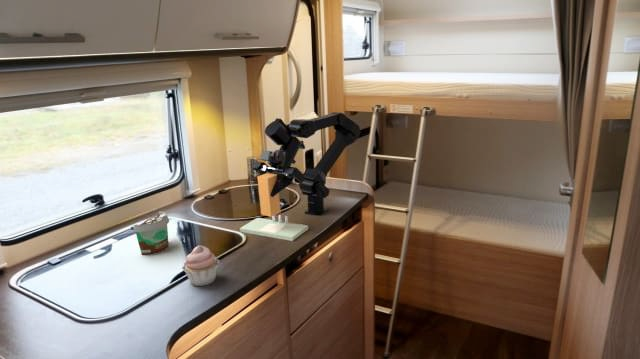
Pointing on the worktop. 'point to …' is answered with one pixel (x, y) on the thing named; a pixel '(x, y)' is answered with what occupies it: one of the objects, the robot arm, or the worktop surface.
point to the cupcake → (201, 266)
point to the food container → (153, 234)
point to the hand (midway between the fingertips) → (266, 195)
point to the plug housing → (268, 195)
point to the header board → (274, 228)
